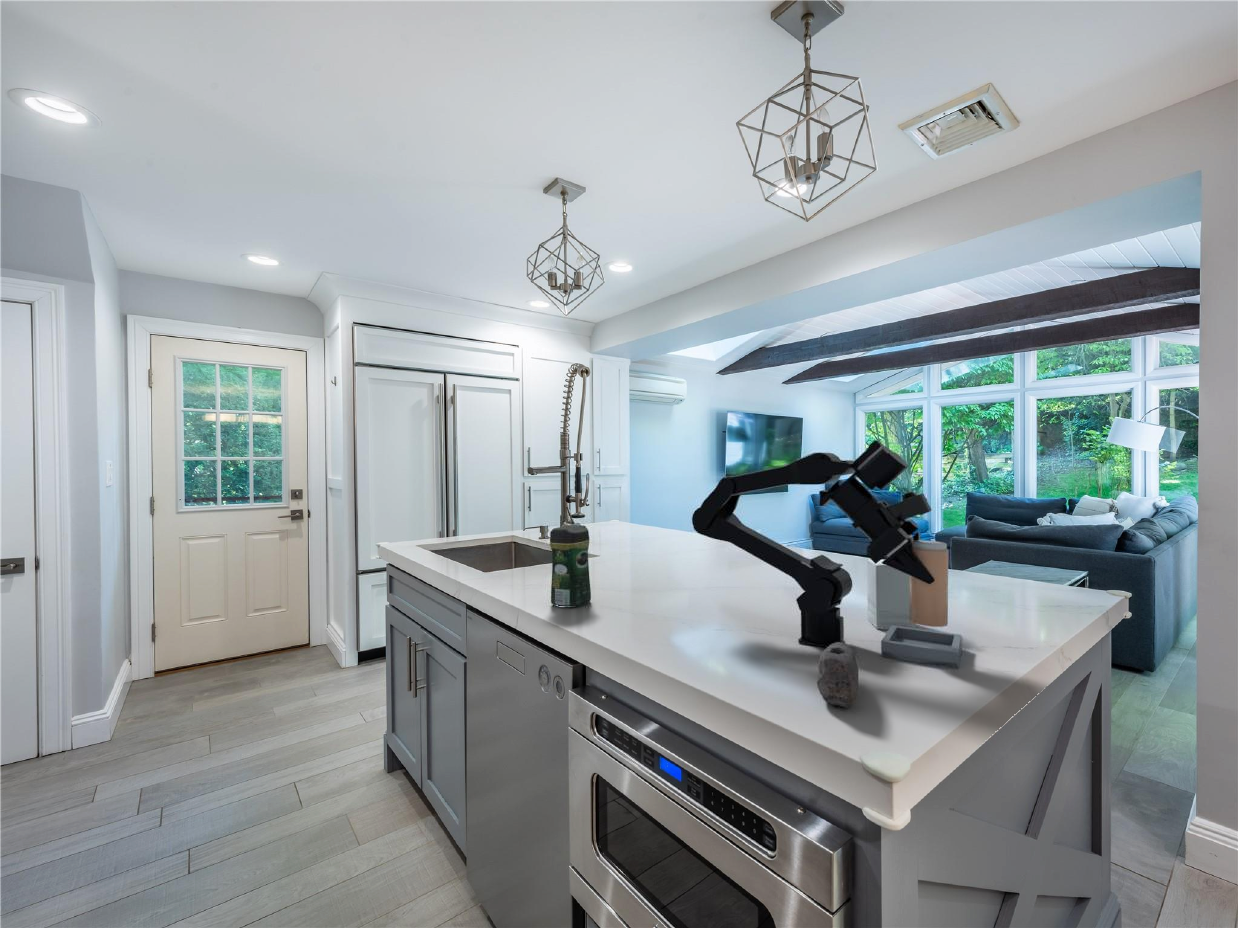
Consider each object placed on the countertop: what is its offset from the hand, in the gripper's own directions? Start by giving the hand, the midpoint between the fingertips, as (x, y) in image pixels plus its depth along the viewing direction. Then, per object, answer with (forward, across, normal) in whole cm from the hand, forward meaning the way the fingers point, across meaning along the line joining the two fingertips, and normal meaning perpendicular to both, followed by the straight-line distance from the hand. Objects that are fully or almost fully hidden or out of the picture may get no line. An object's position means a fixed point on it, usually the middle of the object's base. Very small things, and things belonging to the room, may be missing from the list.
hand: (934, 579), depth 91 cm
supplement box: (+3, +18, +16) cm, 25 cm away
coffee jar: (-42, -2, +64) cm, 76 cm away
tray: (+8, +3, +11) cm, 14 cm away
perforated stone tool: (+3, -22, +17) cm, 27 cm away
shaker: (+4, 0, +6) cm, 7 cm away
